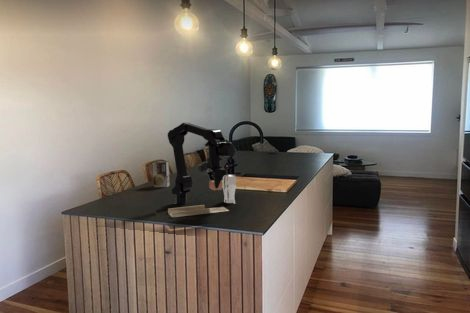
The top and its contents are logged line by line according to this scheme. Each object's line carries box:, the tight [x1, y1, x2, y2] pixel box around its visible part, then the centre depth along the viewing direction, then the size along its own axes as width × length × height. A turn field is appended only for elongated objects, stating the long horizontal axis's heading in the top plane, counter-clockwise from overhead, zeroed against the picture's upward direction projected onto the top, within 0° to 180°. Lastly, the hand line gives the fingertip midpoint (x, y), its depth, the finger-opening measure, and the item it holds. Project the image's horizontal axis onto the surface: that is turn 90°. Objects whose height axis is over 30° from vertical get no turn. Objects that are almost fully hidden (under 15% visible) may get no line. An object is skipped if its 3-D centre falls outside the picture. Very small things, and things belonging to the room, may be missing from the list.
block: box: [208, 179, 223, 191], centre depth 190 cm, size 5×5×4 cm
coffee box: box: [152, 160, 170, 188], centre depth 252 cm, size 9×6×16 cm
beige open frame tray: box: [167, 204, 230, 218], centre depth 186 cm, size 8×28×3 cm, turn 113°
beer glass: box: [222, 174, 237, 204], centre depth 205 cm, size 7×7×15 cm
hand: (214, 187), depth 190 cm, fingers closed on block, 5 cm apart
